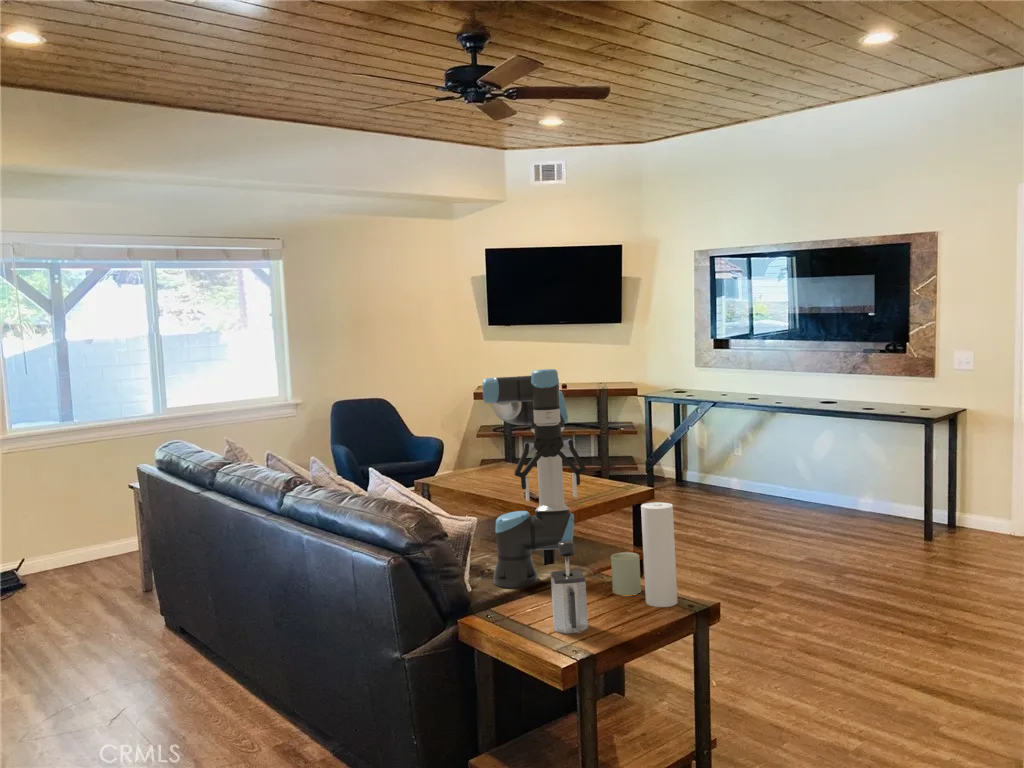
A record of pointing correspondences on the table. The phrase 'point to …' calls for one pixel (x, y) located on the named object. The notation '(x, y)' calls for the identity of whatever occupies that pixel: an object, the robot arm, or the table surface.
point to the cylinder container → (659, 554)
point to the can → (626, 573)
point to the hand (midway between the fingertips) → (551, 498)
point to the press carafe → (569, 602)
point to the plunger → (566, 552)
